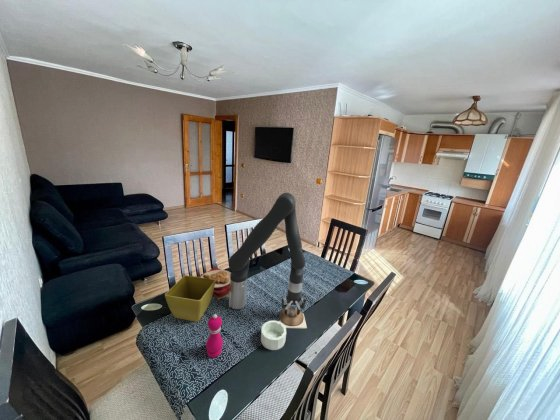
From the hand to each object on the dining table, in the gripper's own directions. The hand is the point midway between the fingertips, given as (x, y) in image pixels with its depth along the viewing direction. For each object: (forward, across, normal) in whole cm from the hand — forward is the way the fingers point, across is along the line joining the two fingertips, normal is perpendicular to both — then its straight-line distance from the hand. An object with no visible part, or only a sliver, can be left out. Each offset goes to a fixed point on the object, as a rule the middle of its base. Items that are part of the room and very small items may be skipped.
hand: (291, 313), depth 126 cm
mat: (+3, 0, 0) cm, 3 cm away
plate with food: (+6, -40, +27) cm, 49 cm away
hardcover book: (+4, -44, +22) cm, 50 cm away
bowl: (+3, -11, -15) cm, 19 cm away
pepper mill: (+3, -38, -22) cm, 44 cm away
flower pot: (+3, -55, +2) cm, 55 cm away
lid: (+2, 0, 0) cm, 2 cm away
